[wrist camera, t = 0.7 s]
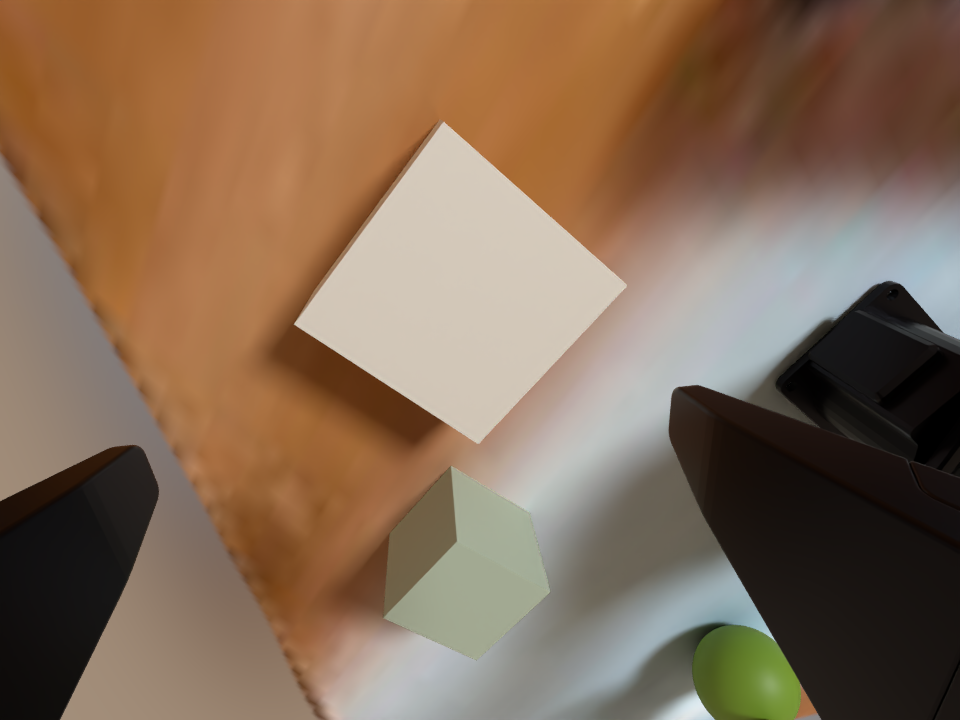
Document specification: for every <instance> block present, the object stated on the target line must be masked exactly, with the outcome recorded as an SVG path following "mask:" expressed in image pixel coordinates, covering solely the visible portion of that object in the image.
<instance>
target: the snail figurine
mask: <svg viewBox="0 0 960 720" xmlns="http://www.w3.org/2000/svg"><path fill="white" fill-rule="evenodd" d="M692 675H693V681H694V685H695V689H696V691H697V694H698V696H699V698H700V700H701V702H702V704H703V705H704V707H705V708H706V710H707V711H708V712H709V713H710V714H711V716H712V717H713V718H714V719H715V720H794V719H795V717H796V715H797V713H798V710H799V706H800V700H801V689H800V682H799V680H798V679H797V677H796V675H795V673H794V672H793V670H792V668H791V667H790V665H789V663H788V661H787V660H786V658H785V656H784V654H783V653H782V651H781V649H780V648H779V646H778V644H777V643H776V642H775V641H774V640H773V639H771V638H770V637H769V636H767V635H766V634H764V633H762V632H760V631H758V630H756V629H753V628H750V627H747V626H741V625H727V626H722V627H719V628H717V629H714V630H713V631H711V632H709V633H708V634H707V635H706V636H705V637H704V638H703V639H702V640H701V641H700V643H699V644H698V646H697V648H696V651H695V653H694V657H693V663H692Z"/></svg>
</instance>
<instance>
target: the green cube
mask: <svg viewBox="0 0 960 720" xmlns="http://www.w3.org/2000/svg"><path fill="white" fill-rule="evenodd" d="M550 592H551V591H550V588H549V584H548V580H547V576H546V572H545V569H544V565H543V561H542V557H541V554H540V550H539V546H538V542H537V538H536V535H535V531H534V527H533V523H532V519H531V516H530V513H529V512H528V511H526V510H524V509H523V508H521V507H519V506H518V505H516V504H514V503H513V502H511V501H509V500H508V499H506V498H504V497H503V496H501V495H499V494H498V493H496V492H494V491H493V490H491V489H489V488H488V487H486V486H484V485H483V484H481V483H479V482H477V481H476V480H474V479H472V478H471V477H469V476H467V475H466V474H464V473H462V472H461V471H459V470H457V469H456V468H454V467H452V466H450V467H449V468H448V470H447V471H446V472H445V473H444V474H443V475H442V476H441V477H440V478H439V480H438V481H437V482H436V483H435V484H434V485H433V486H432V487H431V488H430V489H429V491H428V492H427V493H426V494H425V495H424V496H423V497H422V498H421V499H420V500H419V502H418V503H417V504H416V505H415V506H414V507H413V508H412V509H411V510H410V512H409V513H408V514H407V515H406V516H405V517H404V518H403V519H402V520H401V521H400V523H399V524H398V525H397V526H396V527H395V528H394V529H393V530H392V531H391V532H390V534H389V547H388V560H387V573H386V586H385V599H384V612H383V618H384V619H386V620H388V621H390V622H393V623H395V624H397V625H399V626H401V627H404V628H406V629H408V630H410V631H413V632H415V633H417V634H419V635H421V636H424V637H426V638H428V639H430V640H432V641H435V642H437V643H439V644H441V645H444V646H446V647H448V648H450V649H452V650H455V651H457V652H459V653H461V654H463V655H466V656H468V657H470V658H472V659H474V660H477V659H478V658H480V657H481V656H482V655H483V654H484V653H485V652H486V651H487V650H488V649H489V648H490V647H491V646H493V645H494V644H495V643H496V642H497V641H498V640H499V639H500V638H501V637H502V636H503V635H505V634H506V633H507V632H508V631H509V630H510V629H511V628H512V627H513V626H514V625H515V624H516V623H518V622H519V621H520V620H521V619H522V618H523V617H524V616H525V615H526V614H527V613H528V612H530V611H531V610H532V609H533V608H534V607H535V606H536V605H537V604H538V603H539V602H540V601H541V600H543V599H544V598H545V597H546V596H547V595H548V594H549V593H550Z"/></svg>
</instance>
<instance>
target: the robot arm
mask: <svg viewBox="0 0 960 720" xmlns="http://www.w3.org/2000/svg"><path fill="white" fill-rule="evenodd" d="M889 291H891V293H890V294H889V295H888V296H887V294H888V293H889ZM790 382H791V384H790V386H788V387H787V385H788V384H789V383H790ZM776 388H777V390H778V391H779V392H780V393H781V394H783V395H784V396H785V397H786V398H787V399H788V400H789V401H791V402H792V403H793V404H794V405H795V406H796V407H797V408H798V409H800V410H801V411H802V412H803V413H804V414H805V415H806V416H808V417H809V418H810V419H811V420H812V421H813V422H814V423H815V424H817V425H818V426H819V427H820V428H818V427H815V426H813V425H810V424H807V423H804V422H801V421H798V420H796V419H793V418H790V417H787V416H784V415H782V414H779V413H776V412H773V411H770V410H767V409H765V408H762V407H759V406H756V405H753V404H751V403H748V402H745V401H742V400H739V399H736V398H734V397H731V396H728V395H725V394H722V393H719V392H717V391H714V390H711V389H708V388H705V387H703V386H699V385H692V386H683V387H677V388H675V389H674V391H673V393H672V397H671V408H670V419H669V437H670V441H671V444H672V446H673V448H674V451H675V453H676V455H677V458H678V460H679V462H680V464H681V467H682V469H683V471H684V474H685V476H686V478H687V481H688V483H689V485H690V488H691V490H692V492H693V495H694V497H695V499H696V501H697V504H698V506H699V508H700V510H701V512H702V514H703V516H704V518H705V520H706V522H707V523H708V525H709V527H710V529H711V531H712V532H713V534H714V536H715V537H716V539H717V541H718V543H719V544H720V546H721V548H722V549H723V551H724V553H725V555H726V556H727V558H728V560H729V562H730V563H731V565H732V567H733V568H734V570H735V572H736V574H737V575H738V577H739V579H740V580H741V582H742V584H743V586H744V587H745V589H746V591H747V592H748V594H749V596H750V598H751V599H752V601H753V603H754V605H755V606H756V608H757V610H758V611H759V613H760V615H761V617H762V618H763V620H764V622H765V623H766V625H767V627H768V629H769V630H770V632H771V634H772V636H773V637H774V639H775V641H776V642H777V644H778V646H779V648H780V649H781V651H782V653H783V654H784V656H785V658H786V660H787V661H788V663H789V665H790V667H791V668H792V670H793V672H794V673H795V675H796V677H797V679H798V680H799V682H800V684H801V685H802V687H803V689H804V691H805V692H806V694H807V696H808V698H809V699H810V701H811V703H812V704H813V706H814V708H815V710H816V711H817V713H818V715H819V716H820V718H821V720H960V340H958V339H956V338H954V337H952V336H949V335H947V334H945V333H943V332H942V331H941V329H940V328H939V327H938V326H937V325H936V324H935V322H934V321H933V320H932V319H931V318H930V317H929V316H928V314H927V313H926V312H925V311H924V310H923V309H922V308H921V306H920V305H919V304H918V303H917V302H916V301H915V300H914V298H913V297H912V296H911V295H910V294H909V293H908V292H907V290H906V289H905V288H904V287H903V286H902V285H900V284H898V283H896V282H893V281H886V282H883V283H882V284H880V285H879V286H878V287H877V288H876V289H875V290H874V291H873V292H872V293H870V294H869V295H868V296H867V297H866V298H865V299H864V300H863V301H862V302H861V303H860V304H859V305H857V306H856V307H855V308H854V309H853V310H852V311H851V312H850V313H849V314H848V315H847V316H846V317H844V318H843V319H842V320H841V321H840V322H839V323H838V324H837V325H836V326H835V327H834V328H833V329H831V330H830V331H829V332H828V333H827V334H826V335H825V336H824V337H823V338H822V339H821V340H820V341H818V342H817V343H816V344H815V345H814V346H813V347H812V348H811V349H810V350H809V351H808V352H806V353H805V354H804V355H803V356H802V357H801V358H800V359H799V360H798V361H797V362H796V363H795V364H793V365H792V366H791V367H790V368H789V369H788V370H787V371H786V372H785V373H784V374H783V375H782V376H780V378H779V379H778V380H777V382H776ZM158 495H159V489H158V484H157V481H156V479H155V476H154V474H153V471H152V469H151V466H150V464H149V462H148V459H147V457H146V454H145V452H144V450H143V449H142V448H141V447H139V446H137V445H127V446H117V447H112V448H109V449H106V450H104V451H102V452H100V453H98V454H96V455H94V456H92V457H90V458H88V459H86V460H84V461H82V462H80V463H78V464H76V465H74V466H72V467H69V468H67V469H65V470H63V471H61V472H59V473H57V474H55V475H53V476H51V477H49V478H47V479H45V480H43V481H41V482H39V483H37V484H35V485H32V486H30V487H28V488H26V489H24V490H22V491H20V492H18V493H16V494H14V495H12V496H10V497H8V498H6V499H4V500H2V501H0V720H60V719H61V717H62V715H63V713H64V711H65V709H66V707H67V705H68V703H69V701H70V699H71V697H72V694H73V692H74V690H75V688H76V686H77V684H78V682H79V680H80V678H81V676H82V674H83V672H84V670H85V668H86V666H87V664H88V662H89V660H90V658H91V656H92V653H93V652H94V650H95V647H96V645H97V643H98V641H99V639H100V637H101V635H102V633H103V631H104V629H105V627H106V625H107V623H108V621H109V619H110V617H111V615H112V613H113V610H114V609H115V607H116V605H117V602H118V600H119V598H120V596H121V594H122V592H123V590H124V588H125V585H126V583H127V581H128V579H129V576H130V573H131V571H132V569H133V566H134V563H135V561H136V558H137V555H138V552H139V550H140V547H141V544H142V541H143V539H144V536H145V533H146V531H147V528H148V525H149V522H150V520H151V517H152V514H153V511H154V509H155V506H156V503H157V500H158Z"/></svg>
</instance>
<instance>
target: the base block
mask: <svg viewBox="0 0 960 720" xmlns="http://www.w3.org/2000/svg"><path fill="white" fill-rule="evenodd" d="M626 287H627V285H626V284H625V283H624V282H623V281H622V280H621V279H620V278H619V277H617V276H616V275H615V274H614V273H613V272H612V271H611V270H610V269H608V268H607V267H606V266H605V265H604V264H603V263H602V262H601V261H599V260H598V259H597V258H596V257H595V256H594V255H593V254H592V253H590V252H589V251H588V250H587V249H586V248H585V247H584V246H583V245H581V244H580V243H579V242H578V241H577V240H576V239H575V238H574V237H572V236H571V235H570V234H569V233H568V232H567V231H566V230H565V229H563V228H562V227H561V226H560V225H559V224H558V223H557V222H556V221H555V220H553V219H552V218H551V217H550V216H549V215H548V214H547V213H546V212H544V211H543V210H542V209H541V208H540V207H539V206H538V205H537V204H535V203H534V202H533V201H532V200H531V199H530V198H529V197H528V196H526V195H525V194H524V193H523V192H522V191H521V190H520V189H519V188H517V187H516V186H515V185H514V184H513V183H512V182H511V181H510V180H508V179H507V178H506V177H505V176H504V175H503V174H502V173H501V172H499V171H498V170H497V169H496V168H495V167H494V166H493V165H492V164H490V163H489V162H488V161H487V160H486V159H485V158H484V157H483V156H482V155H480V154H479V153H478V152H477V151H476V150H475V149H474V148H473V147H471V146H470V145H469V144H468V143H467V142H466V141H465V140H464V139H462V138H461V137H460V136H459V135H458V134H457V133H456V132H455V131H453V130H452V129H451V128H450V127H449V126H448V125H447V124H446V123H444V122H443V121H442V120H439V121H438V123H437V124H436V125H435V127H434V128H433V129H432V131H431V132H430V133H429V135H428V136H427V138H426V139H425V140H424V142H423V143H422V144H421V146H420V147H419V148H418V150H417V151H416V152H415V154H414V155H413V157H412V158H411V159H410V161H409V162H408V163H407V165H406V166H405V167H404V169H403V170H402V172H401V173H400V174H399V176H398V177H397V178H396V180H395V181H394V182H393V184H392V185H391V186H390V188H389V189H388V191H387V192H386V193H385V195H384V196H383V197H382V199H381V200H380V201H379V203H378V204H377V206H376V207H375V208H374V210H373V211H372V212H371V214H370V215H369V216H368V218H367V219H366V220H365V222H364V223H363V225H362V226H361V227H360V229H359V230H358V231H357V233H356V234H355V235H354V237H353V238H352V240H351V241H350V242H349V244H348V245H347V246H346V248H345V249H344V250H343V252H342V253H341V254H340V256H339V257H338V259H337V260H336V261H335V263H334V264H333V265H332V267H331V268H330V269H329V271H328V272H327V273H326V275H325V276H324V278H323V279H322V280H321V282H320V283H319V284H318V286H317V287H316V288H315V290H314V291H313V293H312V295H311V297H310V298H309V300H308V302H307V303H306V305H305V307H304V308H303V310H302V312H301V313H300V315H299V317H298V318H297V320H296V322H295V324H294V325H296V326H297V327H299V328H300V329H302V330H303V331H305V332H306V333H308V334H309V335H311V336H313V337H314V338H316V339H317V340H319V341H320V342H322V343H323V344H325V345H326V346H328V347H330V348H331V349H333V350H334V351H336V352H337V353H339V354H340V355H342V356H343V357H345V358H346V359H348V360H350V361H351V362H353V363H354V364H356V365H357V366H359V367H360V368H362V369H363V370H365V371H366V372H368V373H370V374H371V375H373V376H374V377H376V378H377V379H379V380H380V381H382V382H383V383H385V384H386V385H388V386H390V387H391V388H393V389H394V390H396V391H397V392H399V393H400V394H402V395H403V396H405V397H407V398H408V399H410V400H411V401H413V402H414V403H416V404H417V405H419V406H420V407H422V408H423V409H425V410H427V411H428V412H430V413H431V414H433V415H434V416H436V417H437V418H439V419H440V420H442V421H443V422H445V423H447V424H448V425H450V426H451V427H453V428H454V429H456V430H457V431H459V432H460V433H462V434H463V435H465V436H467V437H468V438H470V439H471V440H473V441H474V442H476V443H477V444H479V443H480V442H481V441H482V440H483V439H484V438H485V436H486V435H487V434H488V433H489V432H490V431H491V430H492V429H493V428H494V427H495V426H496V425H497V424H498V423H499V422H500V421H501V419H502V418H503V417H504V416H505V415H506V414H507V413H508V412H509V411H510V410H511V409H512V408H513V407H514V406H515V405H516V404H517V402H518V401H519V400H520V399H521V398H522V397H523V396H524V395H525V394H526V393H527V392H528V391H529V390H530V389H531V388H532V387H533V385H534V384H535V383H536V382H537V381H538V380H539V379H540V378H541V377H542V376H543V375H544V374H545V373H546V372H547V371H548V369H549V368H550V367H551V366H552V365H553V364H554V363H555V362H556V361H557V360H558V359H559V358H560V357H561V356H562V355H563V354H564V352H565V351H566V350H567V349H568V348H569V347H570V346H571V345H572V344H573V343H574V342H575V341H576V340H577V339H578V338H579V337H580V335H581V334H582V333H583V332H584V331H585V330H586V329H587V328H588V327H589V326H590V325H591V324H592V323H593V322H594V321H595V320H596V318H597V317H598V316H599V315H600V314H601V313H602V312H603V311H604V310H605V309H606V308H607V307H608V306H609V305H610V304H611V302H612V301H613V300H614V299H615V298H616V297H617V296H618V295H619V294H620V293H621V292H622V291H623V290H624V289H625V288H626Z"/></svg>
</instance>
